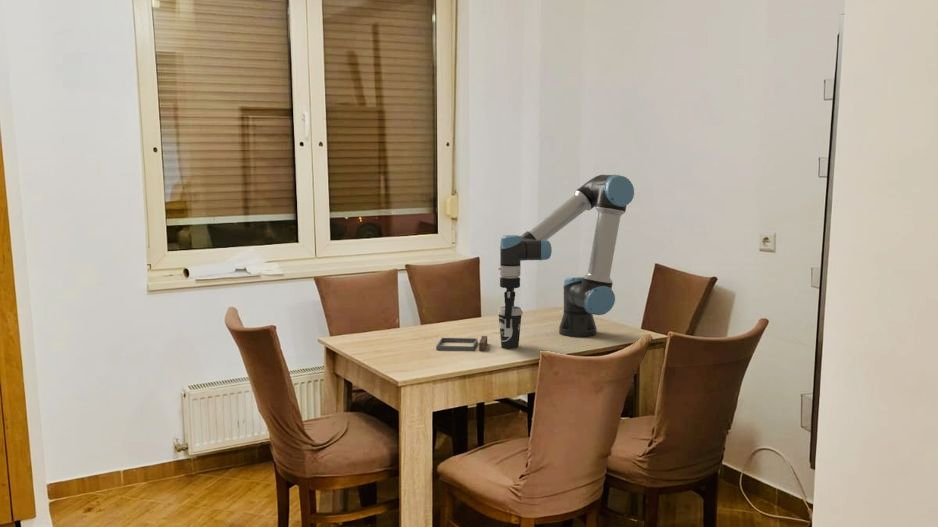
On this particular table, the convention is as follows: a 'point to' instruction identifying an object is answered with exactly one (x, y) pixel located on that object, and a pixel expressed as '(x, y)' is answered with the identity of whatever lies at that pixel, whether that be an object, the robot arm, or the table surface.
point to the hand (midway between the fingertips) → (509, 332)
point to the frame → (464, 348)
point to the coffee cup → (516, 323)
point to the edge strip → (483, 343)
